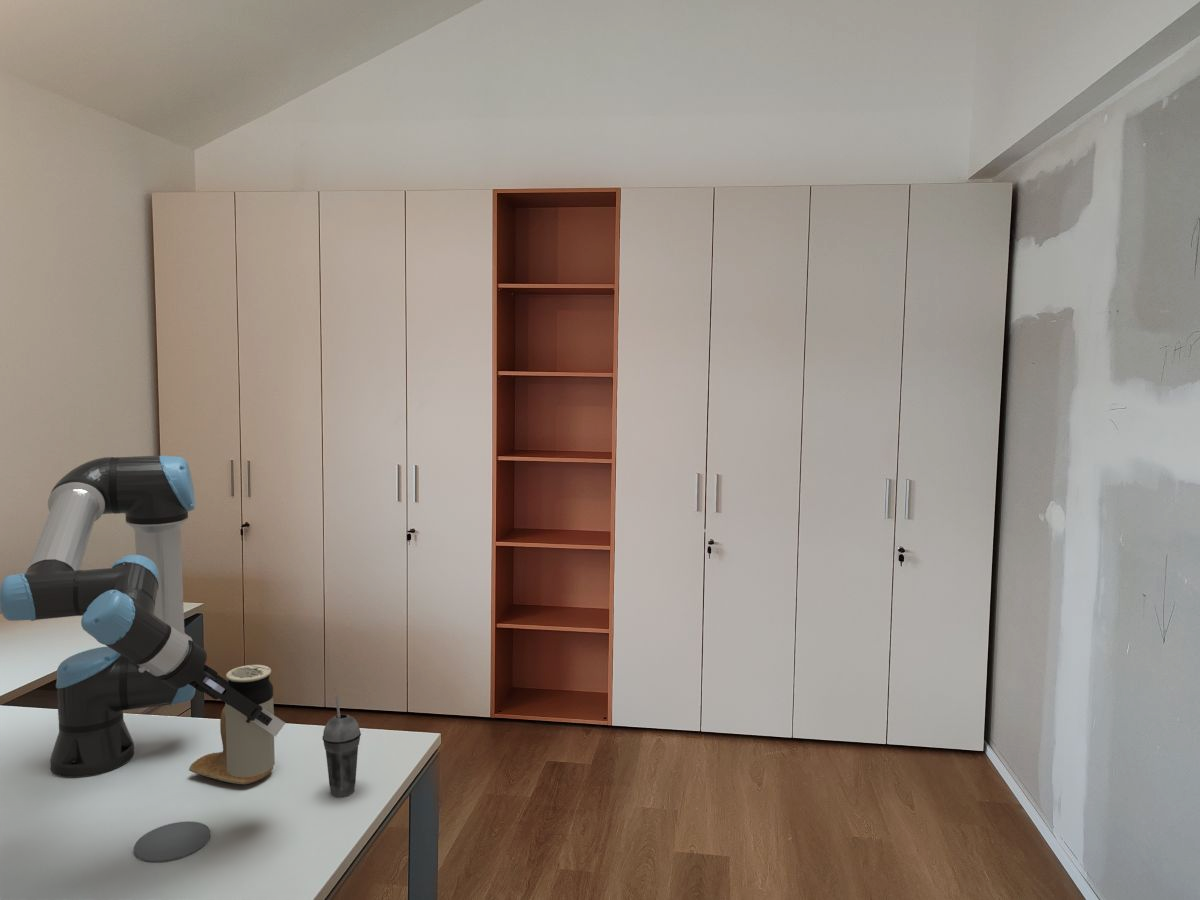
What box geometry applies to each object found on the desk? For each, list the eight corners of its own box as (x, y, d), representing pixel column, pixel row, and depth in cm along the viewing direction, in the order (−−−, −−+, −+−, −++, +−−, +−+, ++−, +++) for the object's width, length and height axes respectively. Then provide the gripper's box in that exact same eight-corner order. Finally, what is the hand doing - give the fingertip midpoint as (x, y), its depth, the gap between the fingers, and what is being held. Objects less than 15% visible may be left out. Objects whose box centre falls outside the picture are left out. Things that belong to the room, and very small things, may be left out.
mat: (123, 842, 146) (123, 840, 146) (194, 816, 155) (194, 814, 155) (148, 871, 138) (148, 868, 138) (222, 842, 147) (221, 839, 147)
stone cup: (288, 768, 175) (286, 698, 173) (244, 794, 164) (242, 720, 162) (233, 754, 180) (231, 687, 179) (187, 779, 169) (185, 707, 168)
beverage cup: (369, 787, 167) (368, 690, 165) (344, 804, 160) (342, 703, 159) (341, 779, 170) (339, 684, 168) (315, 795, 163) (313, 697, 162)
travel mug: (245, 783, 146) (242, 683, 144) (217, 770, 150) (214, 673, 148) (284, 765, 152) (282, 669, 150) (256, 753, 156) (254, 660, 155)
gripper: (134, 661, 145) (229, 722, 158) (180, 695, 131) (281, 759, 144) (165, 624, 148) (256, 688, 161) (214, 654, 134) (310, 720, 147)
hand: (268, 721), depth 153 cm, fingers closed on travel mug, 8 cm apart
